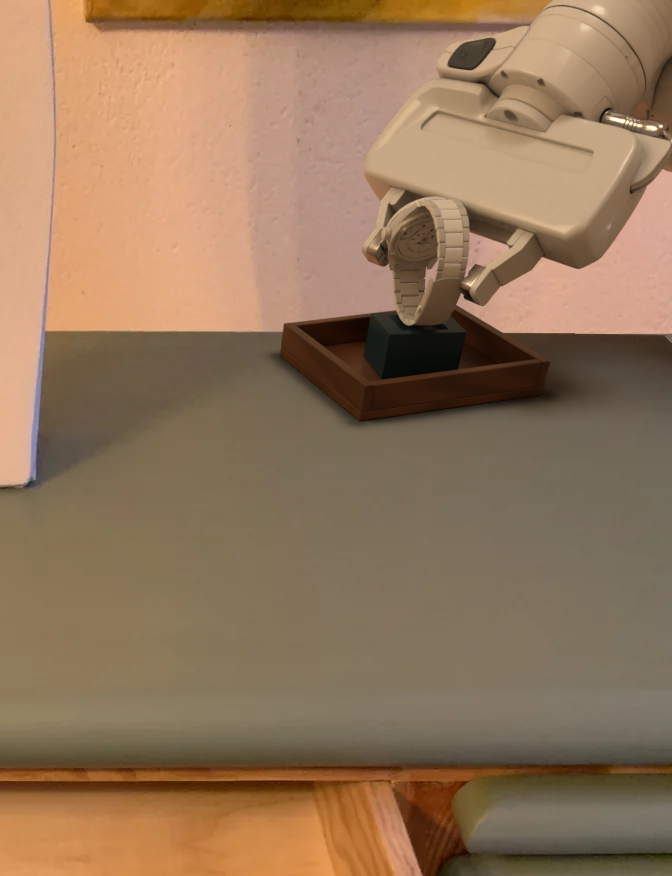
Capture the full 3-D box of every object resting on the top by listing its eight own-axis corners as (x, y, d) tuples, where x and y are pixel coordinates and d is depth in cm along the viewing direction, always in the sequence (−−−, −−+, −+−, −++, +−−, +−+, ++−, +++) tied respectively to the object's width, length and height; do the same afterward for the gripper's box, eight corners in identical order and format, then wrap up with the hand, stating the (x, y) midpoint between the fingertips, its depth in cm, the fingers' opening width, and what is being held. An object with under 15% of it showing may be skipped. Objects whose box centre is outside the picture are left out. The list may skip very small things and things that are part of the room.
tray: (446, 334, 90) (453, 302, 88) (541, 395, 81) (551, 360, 80) (279, 355, 87) (283, 323, 85) (359, 421, 78) (365, 386, 76)
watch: (426, 344, 87) (460, 183, 80) (465, 386, 81) (505, 216, 74) (354, 346, 86) (381, 185, 79) (387, 388, 80) (420, 218, 73)
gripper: (702, 165, 72) (550, 352, 75) (463, 106, 85) (341, 266, 88) (680, 91, 67) (519, 293, 70) (431, 40, 81) (304, 212, 83)
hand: (418, 277), depth 79 cm, fingers closed on watch, 8 cm apart
